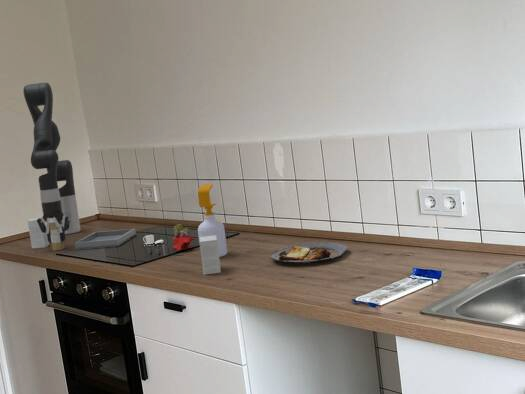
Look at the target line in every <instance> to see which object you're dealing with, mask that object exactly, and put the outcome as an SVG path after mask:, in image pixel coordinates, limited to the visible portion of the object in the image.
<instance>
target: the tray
mask: <svg viewBox="0 0 525 394" xmlns="http://www.w3.org/2000/svg"><path fill="white" fill-rule="evenodd" d="M136 233H137V231H136V228H128V229H115V230H114V229H113V230H104V231H102V230H101V231H94V232H92V233H90V234H88V235H87V236H85V237H82V238H80V239H78V240H77V241H75V242H74V250H75V251H81V250H80V249H85V250H95V248H98V249H106V248H105V247H111V248H117V247H116V246H119V245H121V244H122V245H124V244H125V243H126V242H125V241H127V240H128V239H130V238H131V237H133V236H134V235H136V236H137V234H136ZM133 238H134V237H133ZM130 240H131V239H130ZM124 242H125V243H124ZM127 242H128V241H127ZM123 243H124V244H123ZM122 245H121V246H122ZM119 247H120V246H119Z"/></svg>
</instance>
